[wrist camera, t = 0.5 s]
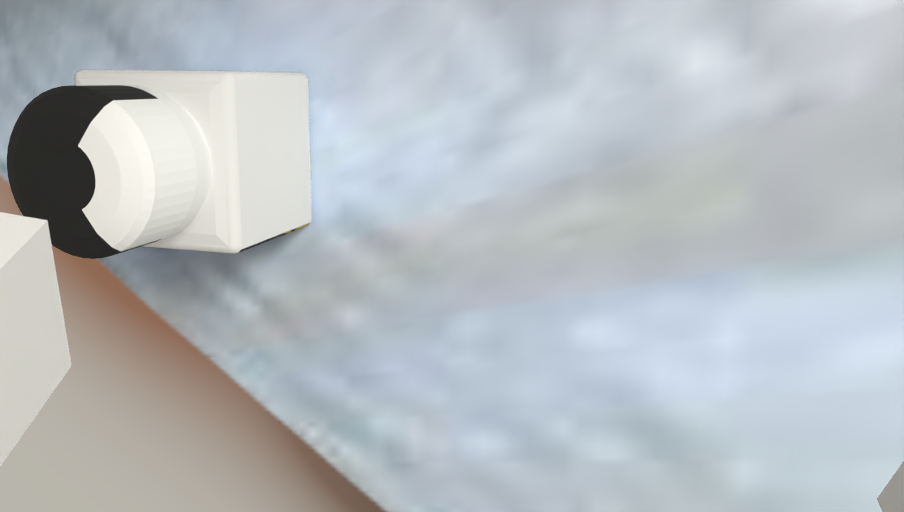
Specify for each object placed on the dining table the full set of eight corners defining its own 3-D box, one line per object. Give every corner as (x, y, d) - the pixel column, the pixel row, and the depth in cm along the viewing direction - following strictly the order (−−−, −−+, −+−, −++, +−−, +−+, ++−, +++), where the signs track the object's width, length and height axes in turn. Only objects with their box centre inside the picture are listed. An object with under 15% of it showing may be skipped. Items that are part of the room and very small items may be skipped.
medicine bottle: (184, 216, 40) (-10, 270, 28) (175, 70, 38) (-34, 67, 27) (314, 224, 38) (163, 286, 27) (310, 72, 36) (147, 69, 25)
